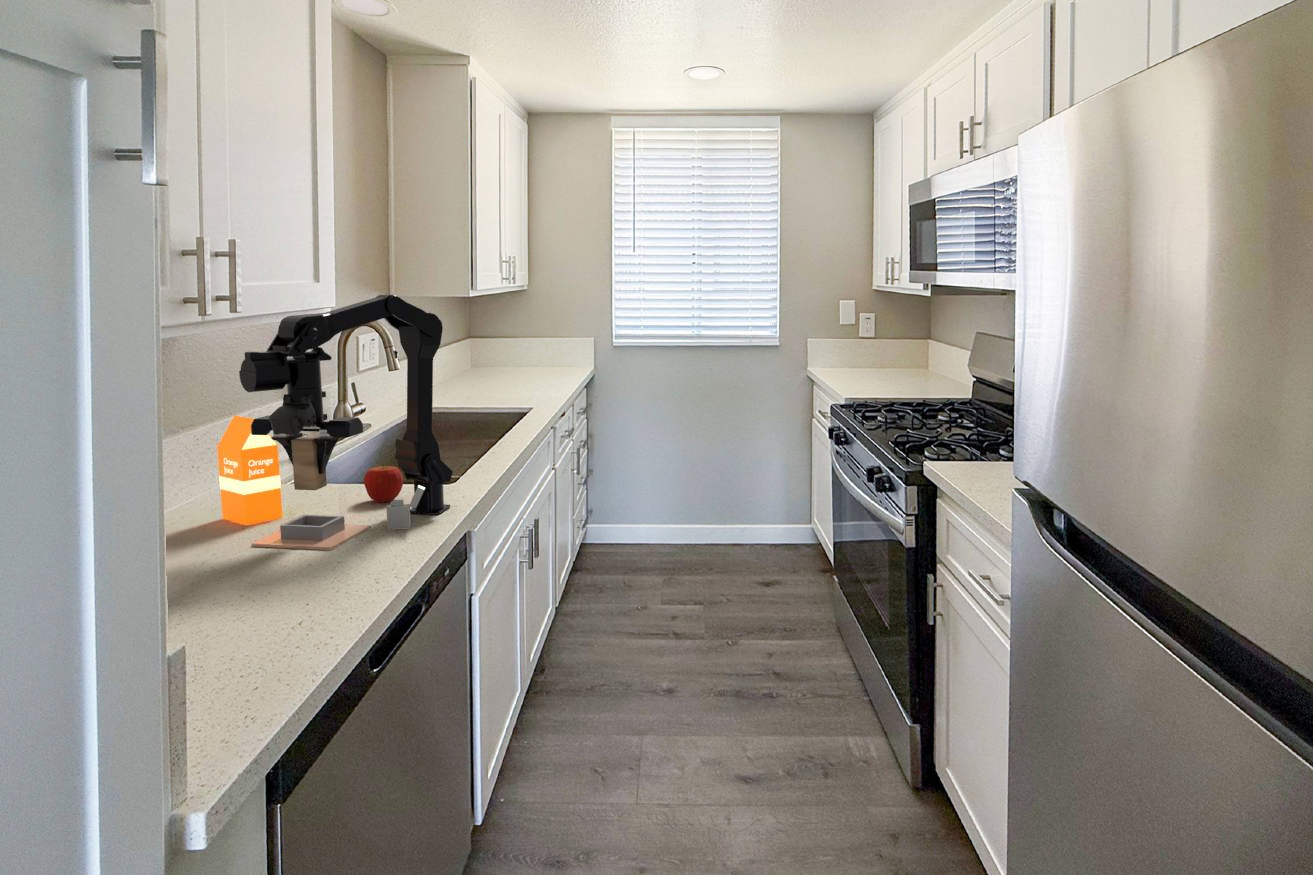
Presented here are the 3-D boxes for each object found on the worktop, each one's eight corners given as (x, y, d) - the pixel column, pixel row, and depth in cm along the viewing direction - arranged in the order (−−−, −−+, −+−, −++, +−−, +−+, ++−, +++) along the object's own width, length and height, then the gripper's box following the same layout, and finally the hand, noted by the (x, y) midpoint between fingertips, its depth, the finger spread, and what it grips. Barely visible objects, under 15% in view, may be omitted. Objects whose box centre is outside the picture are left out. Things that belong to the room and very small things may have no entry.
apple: (362, 498, 201) (360, 462, 199) (400, 495, 204) (398, 459, 203) (368, 506, 194) (366, 469, 192) (406, 502, 197) (405, 466, 196)
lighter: (387, 529, 176) (385, 487, 174) (388, 527, 177) (386, 485, 176) (426, 527, 177) (424, 486, 175) (426, 525, 178) (425, 484, 177)
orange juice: (246, 525, 179) (238, 421, 175) (221, 518, 184) (213, 417, 181) (283, 517, 185) (276, 416, 181) (259, 510, 190) (252, 413, 187)
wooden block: (306, 484, 171) (303, 436, 170) (326, 485, 171) (323, 436, 169) (294, 489, 167) (291, 439, 166) (315, 490, 167) (312, 440, 165)
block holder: (297, 524, 179) (296, 509, 179) (371, 527, 177) (370, 512, 176) (251, 546, 164) (250, 529, 164) (331, 550, 162) (330, 533, 162)
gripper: (228, 391, 160) (235, 481, 162) (330, 393, 157) (336, 484, 159) (265, 384, 171) (271, 468, 173) (362, 386, 168) (366, 471, 170)
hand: (310, 473), depth 169 cm, fingers closed on wooden block, 4 cm apart
